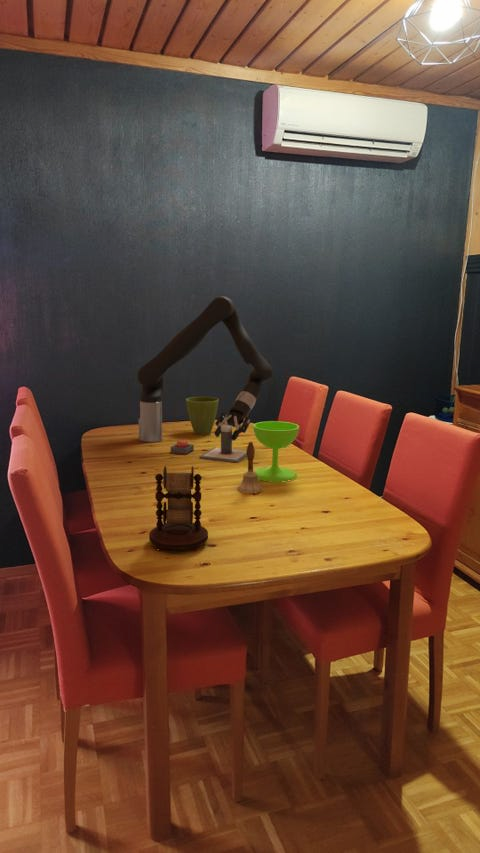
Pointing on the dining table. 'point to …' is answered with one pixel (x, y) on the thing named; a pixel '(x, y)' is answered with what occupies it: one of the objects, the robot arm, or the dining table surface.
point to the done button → (182, 443)
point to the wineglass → (275, 447)
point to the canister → (226, 439)
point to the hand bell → (250, 474)
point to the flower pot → (202, 413)
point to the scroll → (178, 512)
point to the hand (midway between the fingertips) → (224, 437)
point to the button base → (182, 449)
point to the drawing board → (225, 455)
